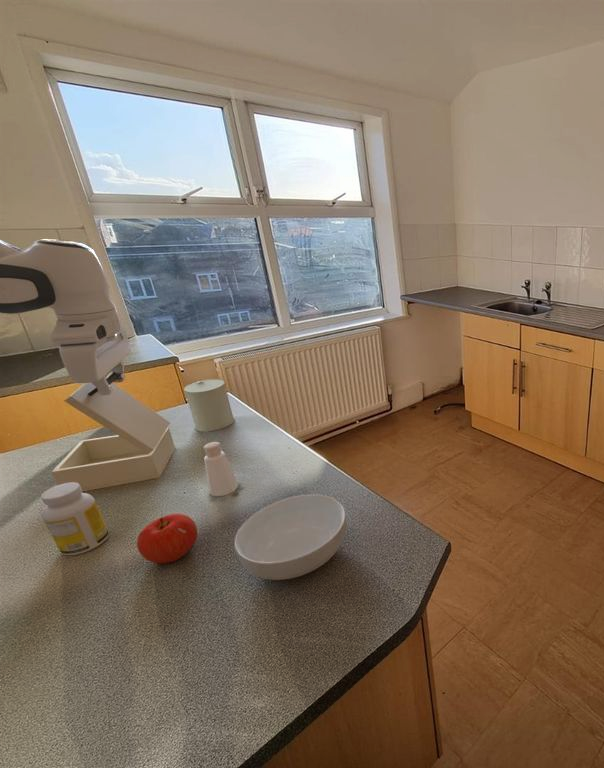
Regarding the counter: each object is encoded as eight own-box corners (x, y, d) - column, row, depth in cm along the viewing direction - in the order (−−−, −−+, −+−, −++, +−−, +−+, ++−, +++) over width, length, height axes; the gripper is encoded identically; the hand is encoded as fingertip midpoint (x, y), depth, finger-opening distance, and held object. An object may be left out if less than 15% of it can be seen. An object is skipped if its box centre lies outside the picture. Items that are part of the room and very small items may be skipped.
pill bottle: (108, 526, 81) (86, 474, 77) (111, 544, 77) (88, 490, 72) (60, 543, 77) (33, 489, 72) (60, 563, 73) (32, 507, 68)
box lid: (63, 400, 84) (88, 382, 84) (92, 376, 95) (114, 361, 96) (147, 454, 93) (169, 437, 93) (165, 426, 104) (184, 411, 105)
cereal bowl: (285, 614, 64) (276, 579, 62) (222, 570, 72) (211, 537, 69) (370, 543, 78) (366, 512, 75) (310, 512, 86) (304, 483, 83)
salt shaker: (207, 499, 89) (192, 453, 84) (211, 485, 93) (198, 441, 89) (237, 493, 91) (224, 448, 87) (240, 479, 95) (228, 436, 91)
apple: (213, 541, 78) (201, 505, 75) (172, 576, 71) (157, 538, 68) (176, 534, 79) (163, 499, 76) (132, 567, 72) (116, 530, 69)
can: (225, 413, 125) (215, 374, 120) (240, 422, 120) (230, 382, 115) (189, 425, 118) (176, 384, 113) (203, 435, 113) (191, 393, 108)
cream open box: (62, 495, 89) (51, 472, 87) (89, 462, 101) (80, 440, 98) (159, 477, 95) (151, 455, 93) (175, 448, 107) (168, 427, 105)
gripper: (92, 313, 94) (113, 372, 99) (44, 339, 77) (72, 408, 82) (129, 312, 96) (147, 369, 102) (90, 336, 79) (114, 404, 84)
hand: (113, 387), depth 92 cm, fingers closed on box lid, 6 cm apart
